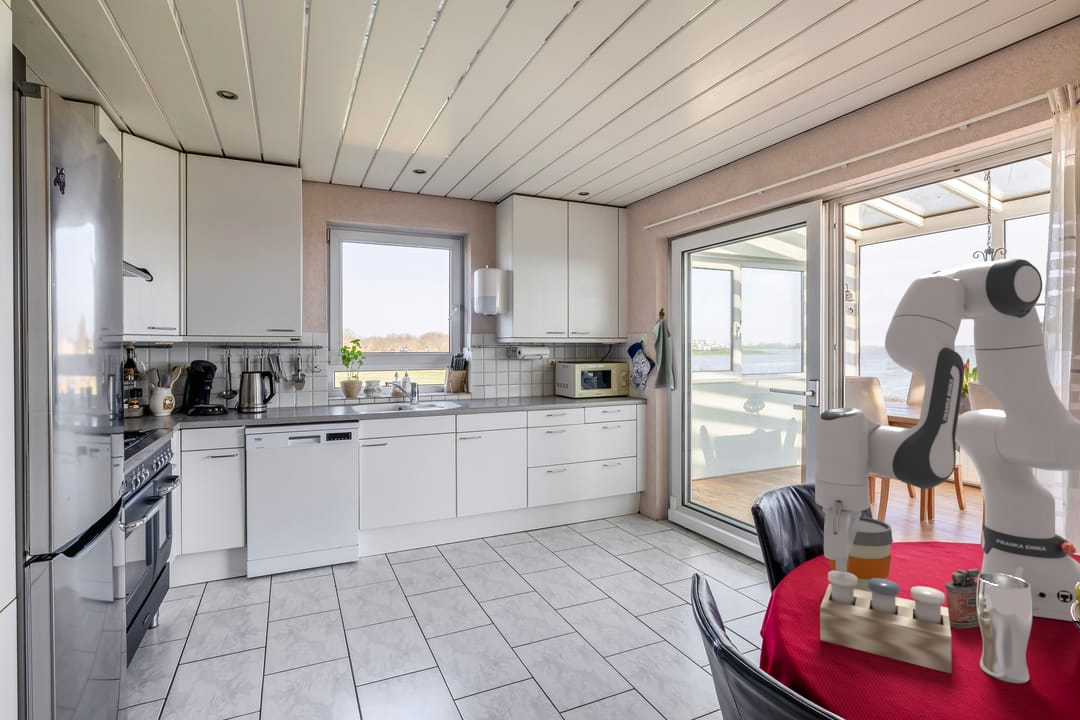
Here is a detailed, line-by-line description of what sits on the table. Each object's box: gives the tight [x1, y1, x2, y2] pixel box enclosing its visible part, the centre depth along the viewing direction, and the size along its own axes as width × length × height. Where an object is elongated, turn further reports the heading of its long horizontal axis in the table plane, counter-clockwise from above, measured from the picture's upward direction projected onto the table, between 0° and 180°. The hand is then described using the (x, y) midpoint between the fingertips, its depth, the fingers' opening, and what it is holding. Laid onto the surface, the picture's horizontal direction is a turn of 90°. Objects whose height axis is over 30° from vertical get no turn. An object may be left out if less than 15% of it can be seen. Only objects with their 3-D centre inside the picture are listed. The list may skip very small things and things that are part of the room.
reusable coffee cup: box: [828, 515, 894, 592], centre depth 118 cm, size 13×13×15 cm
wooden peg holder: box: [819, 583, 952, 674], centre depth 99 cm, size 19×12×6 cm, turn 55°
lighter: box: [944, 568, 981, 629], centre depth 104 cm, size 8×3×10 cm, turn 105°
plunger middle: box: [868, 578, 900, 615], centre depth 98 cm, size 5×5×7 cm
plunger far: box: [827, 570, 857, 606], centre depth 102 cm, size 5×5×7 cm
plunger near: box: [910, 585, 946, 625], centre depth 95 cm, size 5×5×7 cm
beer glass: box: [976, 572, 1034, 684], centre depth 88 cm, size 7×7×15 cm
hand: (842, 569), depth 102 cm, fingers closed
